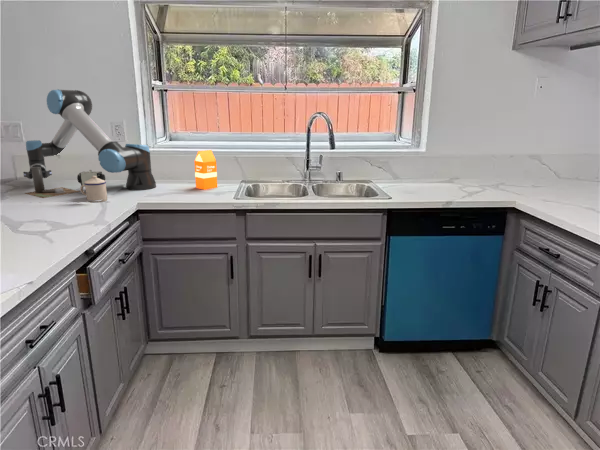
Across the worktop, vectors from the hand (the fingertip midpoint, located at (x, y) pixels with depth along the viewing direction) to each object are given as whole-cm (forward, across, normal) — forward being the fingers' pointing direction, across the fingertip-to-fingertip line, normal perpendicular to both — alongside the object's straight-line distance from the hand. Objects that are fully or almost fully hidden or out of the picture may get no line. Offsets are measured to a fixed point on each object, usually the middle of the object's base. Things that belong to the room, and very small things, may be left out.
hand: (37, 178), depth 204 cm
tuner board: (+8, -6, -7) cm, 12 cm away
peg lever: (+7, -4, -6) cm, 10 cm away
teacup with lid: (+30, -22, -8) cm, 38 cm away
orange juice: (+25, -78, -8) cm, 82 cm away
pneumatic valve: (+14, -23, -8) cm, 28 cm away
